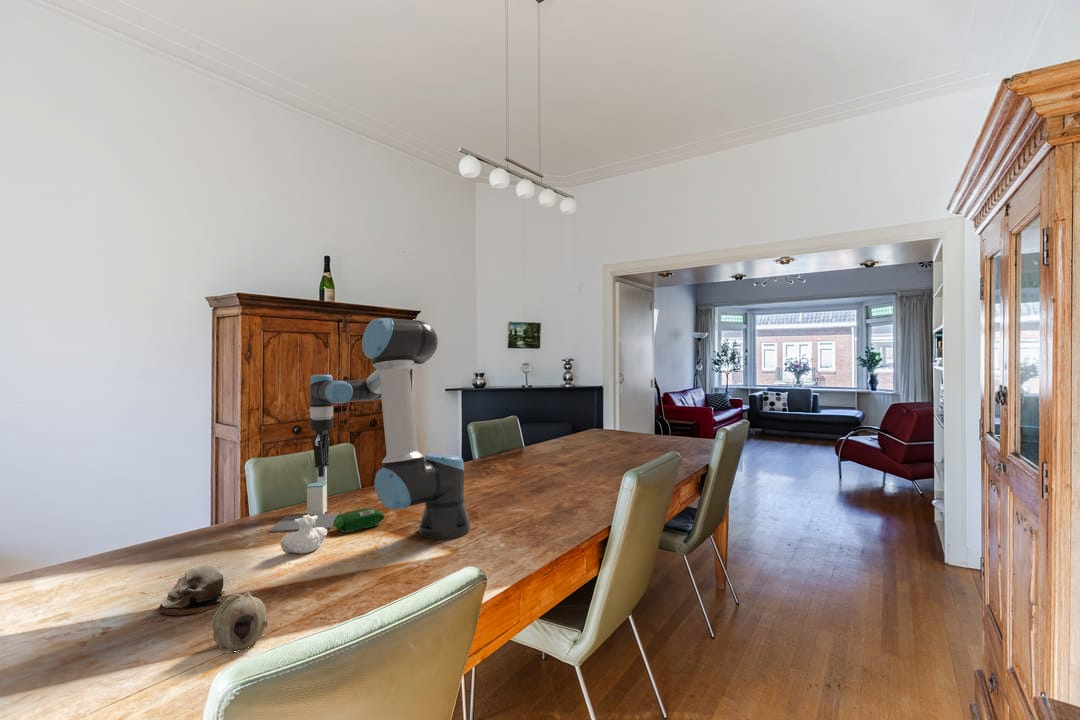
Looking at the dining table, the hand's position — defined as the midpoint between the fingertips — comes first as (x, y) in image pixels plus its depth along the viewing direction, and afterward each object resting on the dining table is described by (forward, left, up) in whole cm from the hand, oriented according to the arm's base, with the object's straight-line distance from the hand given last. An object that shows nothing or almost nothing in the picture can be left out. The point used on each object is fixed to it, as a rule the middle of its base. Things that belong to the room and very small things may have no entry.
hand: (322, 485), depth 174 cm
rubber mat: (-16, 0, -8) cm, 18 cm away
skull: (-68, +7, -9) cm, 69 cm away
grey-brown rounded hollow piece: (-86, -10, -9) cm, 87 cm away
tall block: (-5, 0, -8) cm, 10 cm away
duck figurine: (-41, -7, -9) cm, 42 cm away
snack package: (-23, -17, -9) cm, 30 cm away
